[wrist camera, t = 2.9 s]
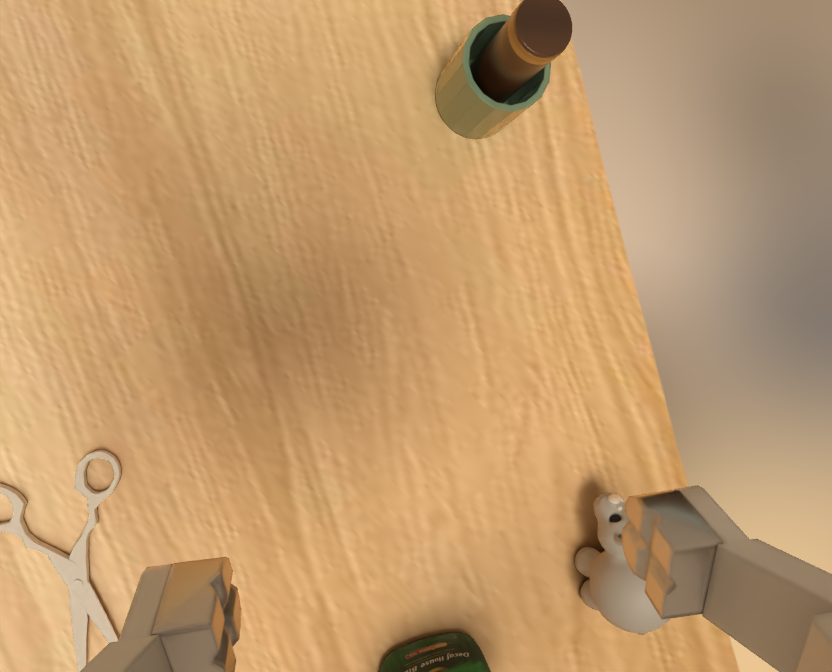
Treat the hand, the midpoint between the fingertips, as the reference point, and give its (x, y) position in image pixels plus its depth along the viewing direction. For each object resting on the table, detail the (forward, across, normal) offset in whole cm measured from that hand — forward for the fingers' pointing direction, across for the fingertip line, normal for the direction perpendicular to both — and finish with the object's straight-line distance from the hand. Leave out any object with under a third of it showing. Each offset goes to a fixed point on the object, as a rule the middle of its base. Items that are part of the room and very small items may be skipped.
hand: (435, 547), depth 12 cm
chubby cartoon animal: (+31, -20, +34) cm, 50 cm away
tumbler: (+45, -12, -5) cm, 47 cm away
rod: (+45, -12, -5) cm, 47 cm away
